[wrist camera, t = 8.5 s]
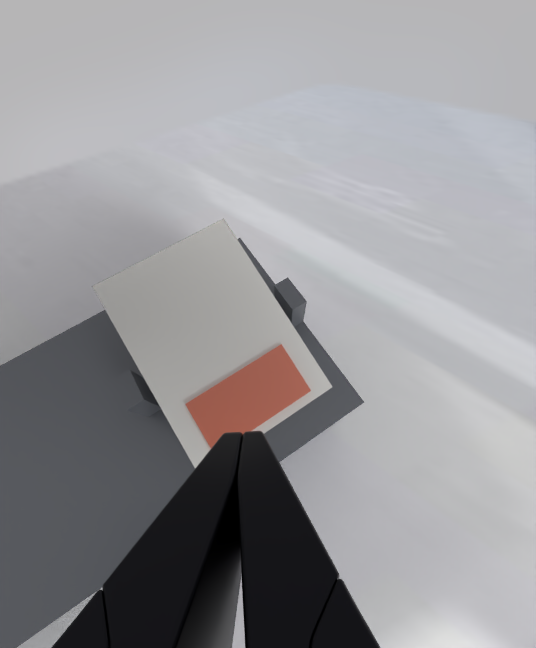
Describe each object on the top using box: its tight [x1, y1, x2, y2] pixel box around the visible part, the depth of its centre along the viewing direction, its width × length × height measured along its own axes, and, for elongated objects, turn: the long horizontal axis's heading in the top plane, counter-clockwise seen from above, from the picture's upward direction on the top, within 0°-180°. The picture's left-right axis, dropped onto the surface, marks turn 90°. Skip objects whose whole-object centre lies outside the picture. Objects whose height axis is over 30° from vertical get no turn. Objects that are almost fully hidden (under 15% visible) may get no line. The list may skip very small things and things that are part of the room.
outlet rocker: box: [92, 219, 332, 468], centre depth 11 cm, size 7×5×1 cm
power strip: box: [0, 238, 364, 648], centre depth 13 cm, size 9×23×8 cm, turn 123°
